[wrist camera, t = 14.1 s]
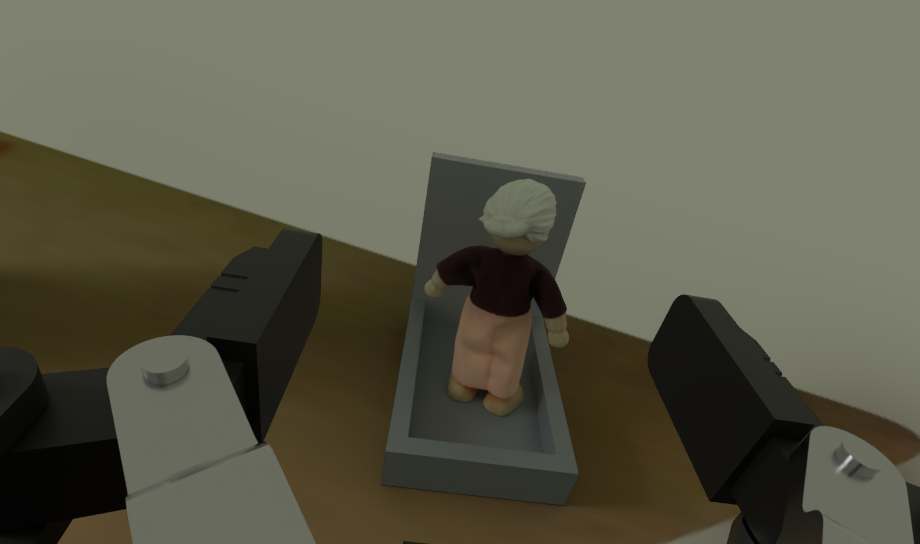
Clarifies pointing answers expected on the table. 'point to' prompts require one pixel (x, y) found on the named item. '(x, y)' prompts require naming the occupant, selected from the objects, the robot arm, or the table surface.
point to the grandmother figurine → (502, 296)
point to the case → (432, 350)
